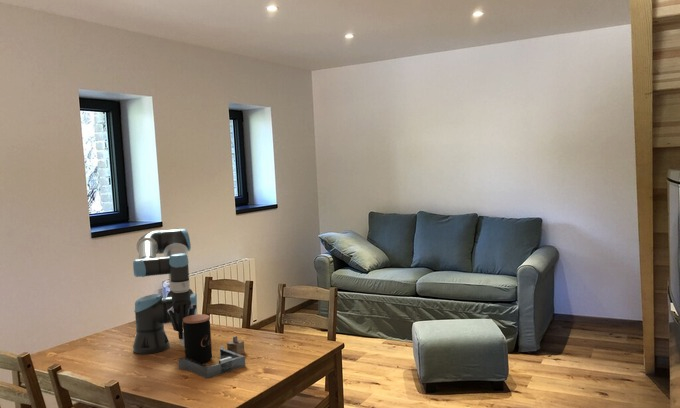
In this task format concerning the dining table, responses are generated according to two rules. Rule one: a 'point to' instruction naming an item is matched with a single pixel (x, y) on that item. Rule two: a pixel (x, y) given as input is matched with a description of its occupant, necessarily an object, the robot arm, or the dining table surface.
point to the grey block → (236, 346)
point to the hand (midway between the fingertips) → (184, 345)
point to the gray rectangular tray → (225, 364)
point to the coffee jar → (197, 338)
